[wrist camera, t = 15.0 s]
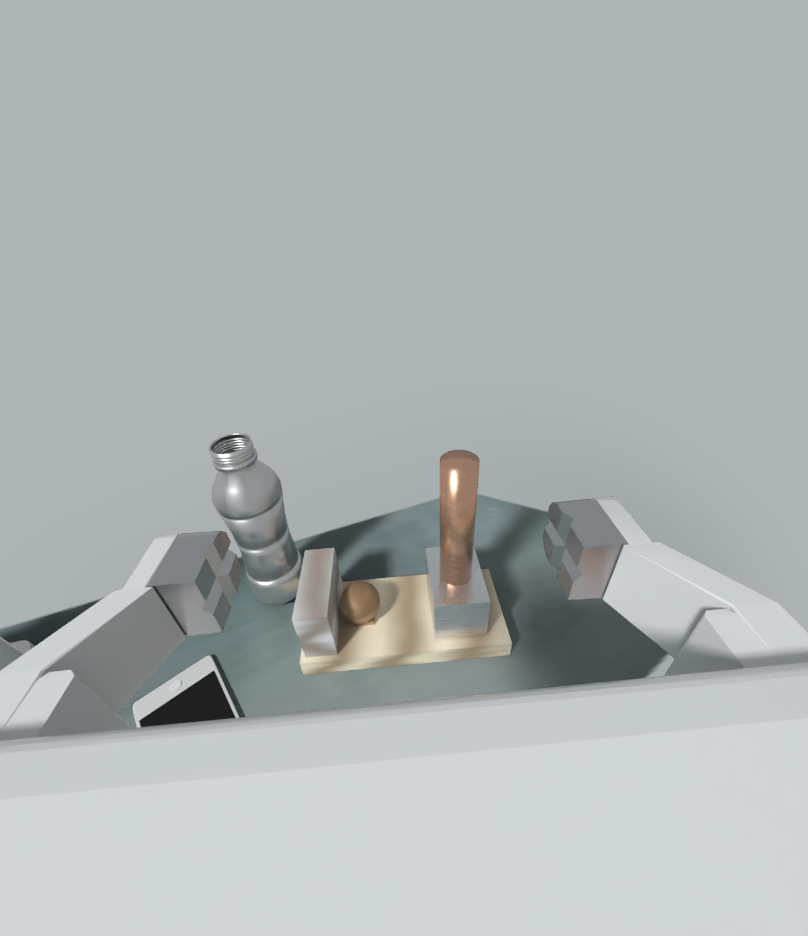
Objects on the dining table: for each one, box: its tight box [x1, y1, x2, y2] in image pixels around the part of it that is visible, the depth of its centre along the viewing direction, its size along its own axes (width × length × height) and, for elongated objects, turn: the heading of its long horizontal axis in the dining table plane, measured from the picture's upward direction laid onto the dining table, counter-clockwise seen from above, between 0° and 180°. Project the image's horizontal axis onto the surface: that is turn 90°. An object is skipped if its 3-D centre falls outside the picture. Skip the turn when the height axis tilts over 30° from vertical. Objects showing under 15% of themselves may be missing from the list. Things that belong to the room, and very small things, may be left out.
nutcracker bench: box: [292, 548, 512, 674], centre depth 39 cm, size 20×9×8 cm, turn 94°
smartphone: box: [133, 655, 240, 728], centre depth 32 cm, size 7×15×1 cm, turn 40°
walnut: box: [340, 581, 380, 627], centre depth 39 cm, size 4×4×4 cm
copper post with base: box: [425, 450, 490, 639], centre depth 35 cm, size 5×7×18 cm
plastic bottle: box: [209, 433, 303, 605], centre depth 40 cm, size 6×7×20 cm
